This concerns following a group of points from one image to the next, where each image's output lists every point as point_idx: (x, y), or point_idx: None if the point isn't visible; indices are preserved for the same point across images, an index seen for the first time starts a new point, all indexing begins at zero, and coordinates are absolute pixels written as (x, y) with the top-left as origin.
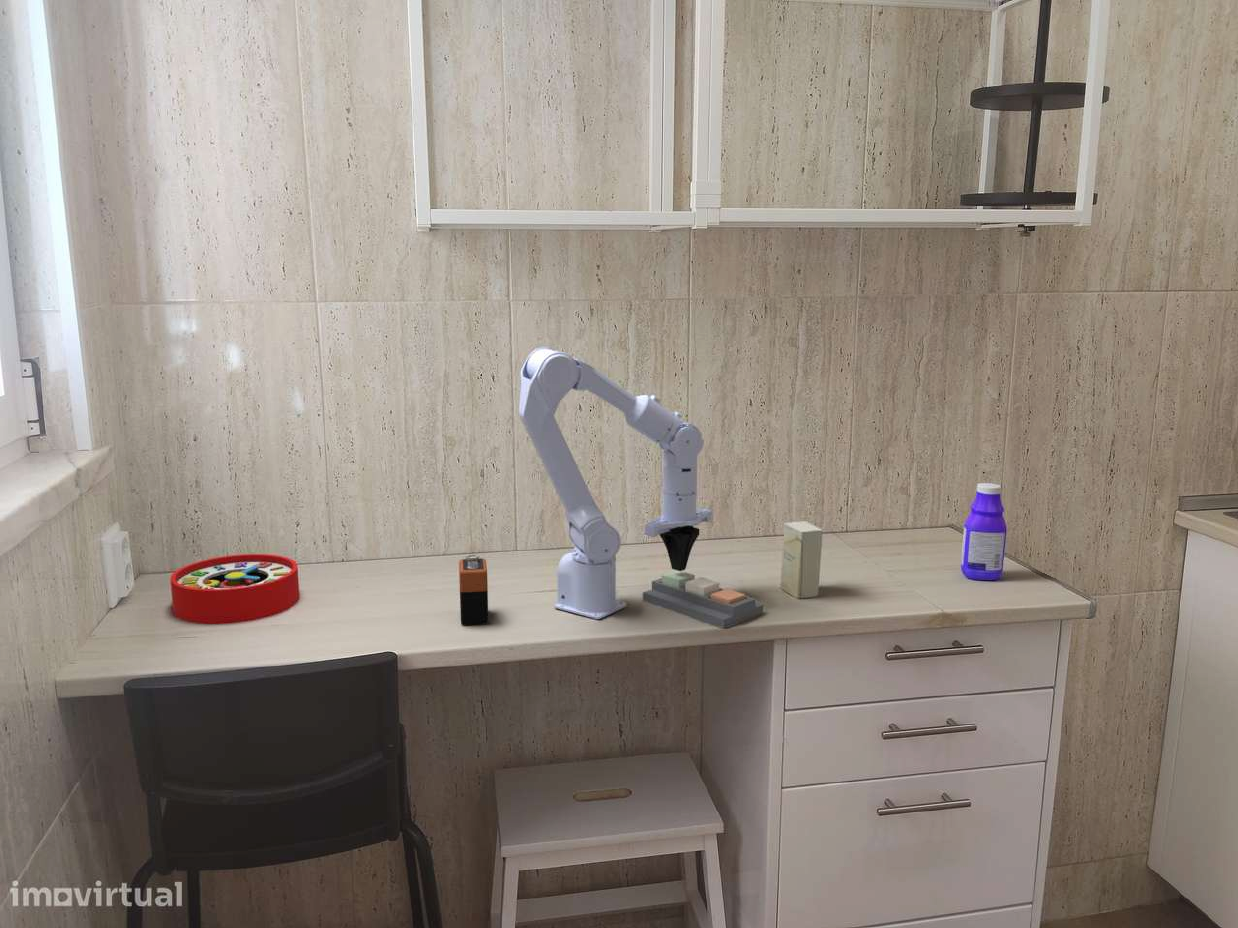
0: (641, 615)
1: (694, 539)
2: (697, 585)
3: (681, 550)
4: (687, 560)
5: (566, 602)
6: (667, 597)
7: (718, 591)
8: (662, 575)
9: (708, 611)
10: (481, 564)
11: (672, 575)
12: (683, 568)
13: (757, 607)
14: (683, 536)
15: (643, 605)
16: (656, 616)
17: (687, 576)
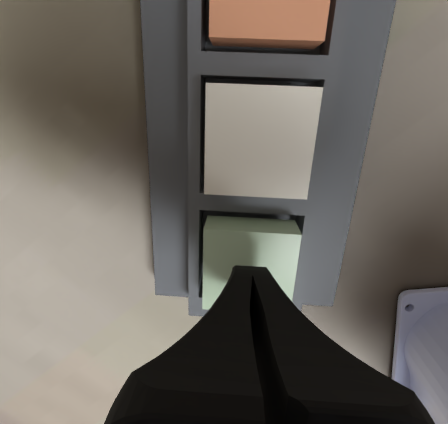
0: (436, 221)
1: (190, 351)
2: (310, 133)
3: (311, 325)
4: (231, 281)
5: None
6: (326, 227)
7: (267, 37)
8: None
9: (366, 14)
10: None
11: None
12: (250, 268)
13: None
14: (410, 410)
15: (356, 267)
16: (419, 183)
17: (239, 238)
